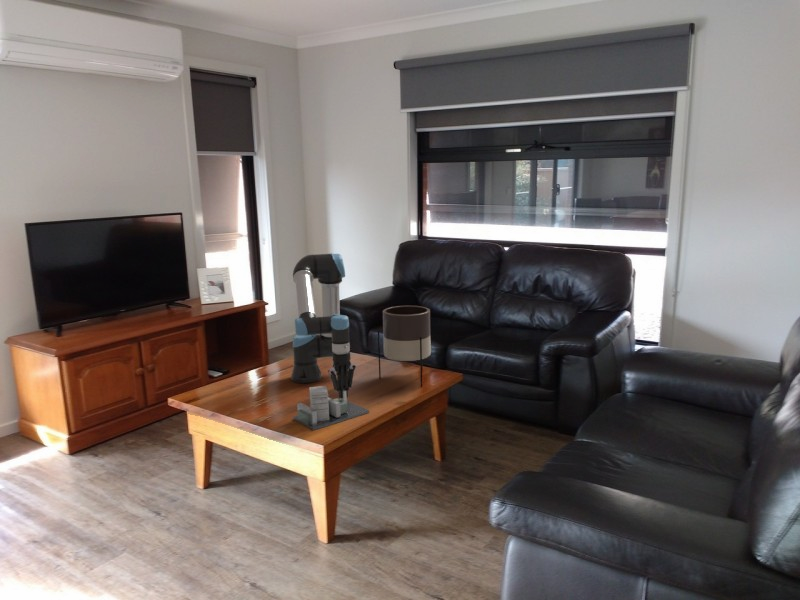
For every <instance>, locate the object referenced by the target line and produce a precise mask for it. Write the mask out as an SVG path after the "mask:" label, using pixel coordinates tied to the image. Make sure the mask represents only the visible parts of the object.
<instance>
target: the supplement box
mask: <svg viewBox="0 0 800 600" xmlns="http://www.w3.org/2000/svg"><path fill="white" fill-rule="evenodd" d="M308 389H309V392H308V393H309V405H310V406H309V407H310V408H312V409H314V410H316V412H317V421H324V420H329V405H328V397H329V391H328V388H327V386H326V385H321V386H312V387H311V386H310V387H309V388H308Z"/></svg>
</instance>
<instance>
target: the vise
mask: <svg viewBox="0 0 800 600" xmlns="http://www.w3.org/2000/svg"><path fill="white" fill-rule="evenodd" d="M347 403H348V412H346V413H343V414H341V416H340V417H335V416H333V415H331V414H329V420H324V421H317V412H316V410H314V409H312V408H310V406H309V405H307V404H304V403H302V402H300V403H299V402H298V403H297V404H296V406H297V407H296V408H297V415H295V416H293V417H292V418H293V420H294V421H296V422H298V423H300V424H302V425H303V426H305V427H306V428H309V429H310V430H312V431H316V430H319V429H322V428H325V427H329V426H332V425H335V424H337V423H342V422H344V421H348V420H350V419H353V418H357V417H360V416H364V415H366V414H369V413H370V409H367V408H365V407H363V406H361V405H359V404H357V403H355V402H352V401H350V400H347Z"/></svg>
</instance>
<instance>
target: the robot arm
mask: <svg viewBox="0 0 800 600" xmlns="http://www.w3.org/2000/svg"><path fill="white" fill-rule="evenodd" d="M345 277H346V271H345V265H344V260H343V257H342V255H341V254H340V253H333V252H331V253H321V254H320V253H319V254H316V253H315V254H307V255H305V256H303V257H301V259H299V260H298V261H297V263H296V264H295V266H294V268H293V271H292V279H293V282H294V284H295V289H296V302H297V311H298V318H295V319H294V327H295V328H294V329H295V336H294V337H293V339H292V348H293V349H292V351H293V354H292V355H293V366H292V367H293V368H292V371H291V375H290V378H291V382H294V383H295V384H296V383H297V384H311V383H315V382H318V381H320V380H321V379H322V372H321V369H320V366H319V365H318V359H323V358H324V359H325V358H332V362H333V364H332V368H331V369H328V370H327V372H328V374H329V375H330V379H331V382H332V383H331V384H332V386H333V389H334V391H337V392H338V399H340V400H342V401H344V402H346V403H347V401H348V398H347V397H348V396H349V390H350V388H351V389H352V384H353V379H354V372H355V370H356V366H357V365H355V364H353V363H351V352H350V351H351V349H350V348H351V344H350V343H351V342H350V321H349V319H350V318H349V316H347V315H344V314H341V313H340V312H341V311H340V309H341V307H340V306H341V305H340V304H341V303H340V284H341V283H342V282H343V278H345ZM314 279H315V280H316V279H317V281H318V283H319V284H320V285H321V303H322V304H321V308H322V309H321V311H322V312H321V313H322V316H317V314H316V305H315V297H314V289H313V287H314V286H313V281H314Z"/></svg>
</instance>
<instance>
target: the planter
mask: <svg viewBox="0 0 800 600" xmlns="http://www.w3.org/2000/svg"><path fill="white" fill-rule="evenodd" d="M382 328H383V333H382V334H383V354H381V346H380V341H381V340H380V331H379V330H378V331H377V348H378V378H379V380H381V379H382V377H381V373H382V372H381V357H382V358H383V357H385V358H387V359H389V360H393V361H398V362H413V361H415V362H417V363H420V387H421V388H422V387H423V371H424V369H423V364H424V363H423V360H424V359H427V358H428V357H430V356H431V353H432V349H431V347H432V346H431V345H432V344H431V309H430V308H428V307H425V306H421V305H420V306H419V305H397V306H391V307H386V308H385V309H383V310H382Z"/></svg>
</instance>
